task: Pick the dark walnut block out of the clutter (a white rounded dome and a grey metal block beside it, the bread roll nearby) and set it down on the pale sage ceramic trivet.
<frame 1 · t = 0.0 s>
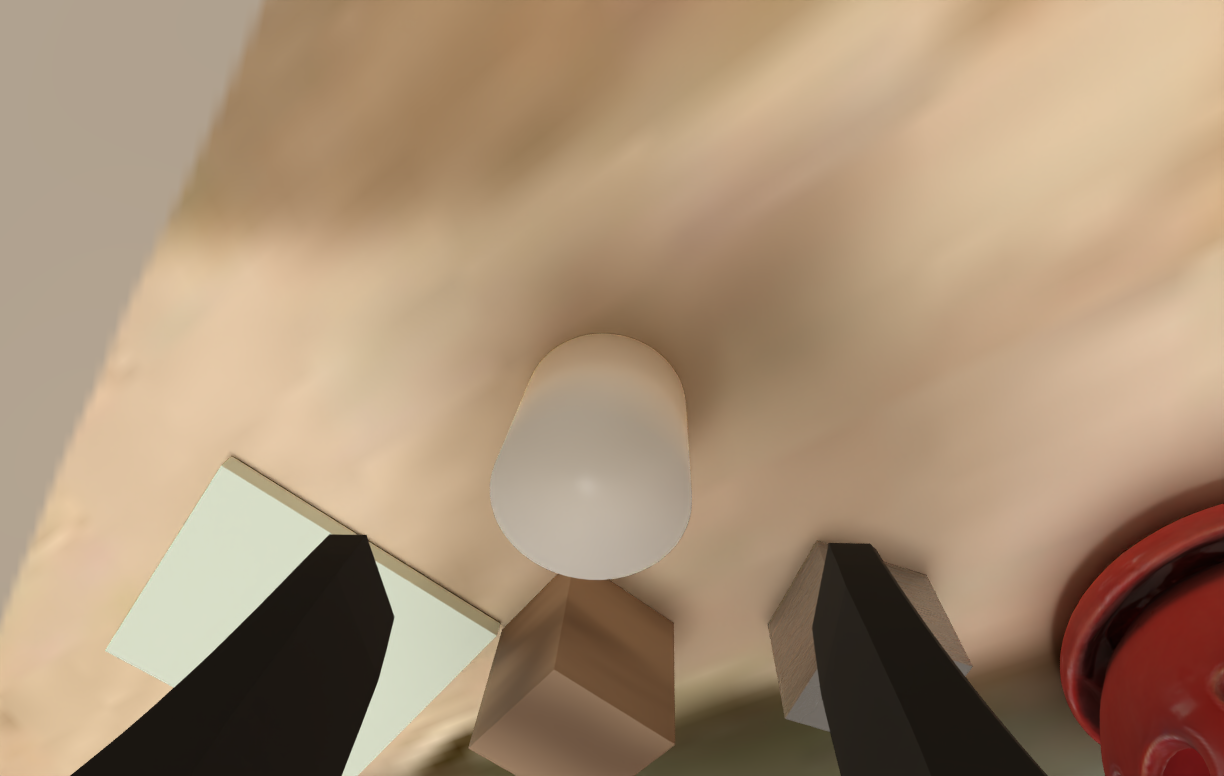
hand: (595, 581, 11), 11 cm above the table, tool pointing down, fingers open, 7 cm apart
trivet: (301, 631, 27), on the table
grey metal block: (844, 599, 24), on the table
plant pot: (1206, 613, 24), on the table
walnut block: (586, 625, 26), on the table
white rounded dome: (605, 408, 22), on the table
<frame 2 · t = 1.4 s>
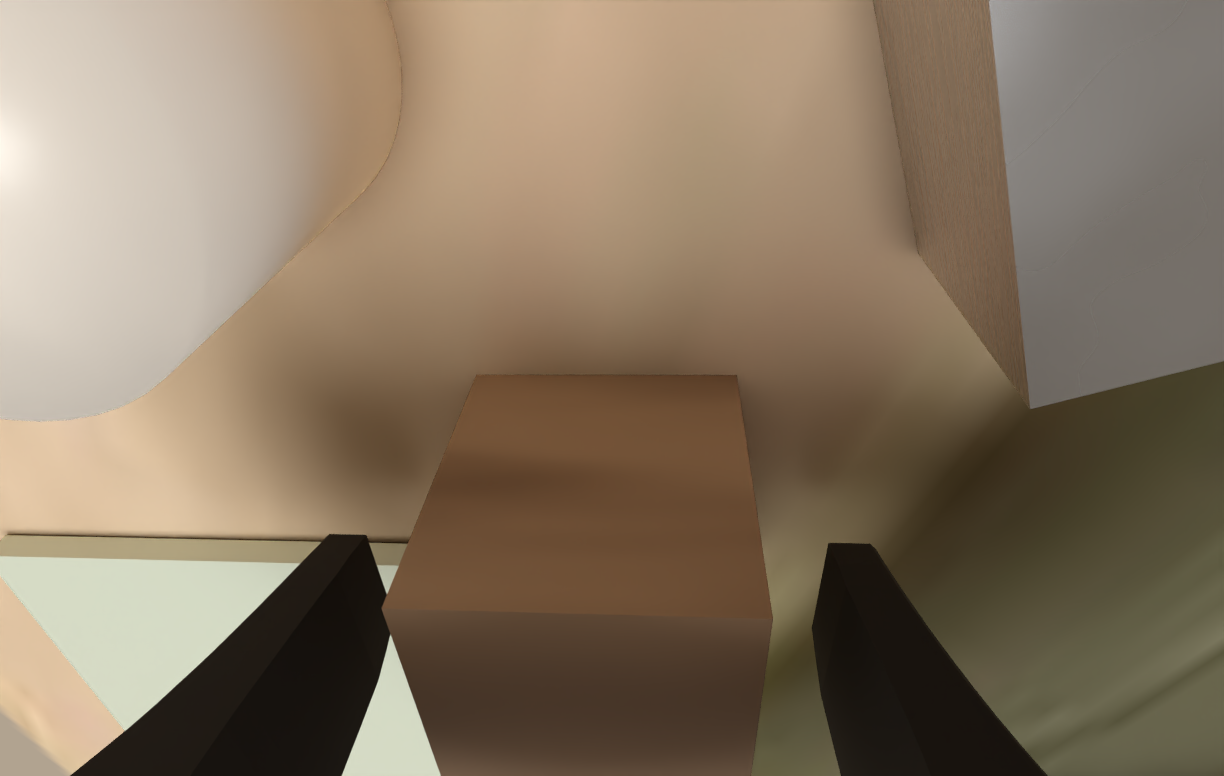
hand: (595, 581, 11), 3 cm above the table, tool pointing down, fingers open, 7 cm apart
trivet: (315, 688, 18), on the table
grey metal block: (1054, 63, 9), on the table
walnut block: (610, 471, 13), on the table
white rounded dome: (218, 50, 9), on the table
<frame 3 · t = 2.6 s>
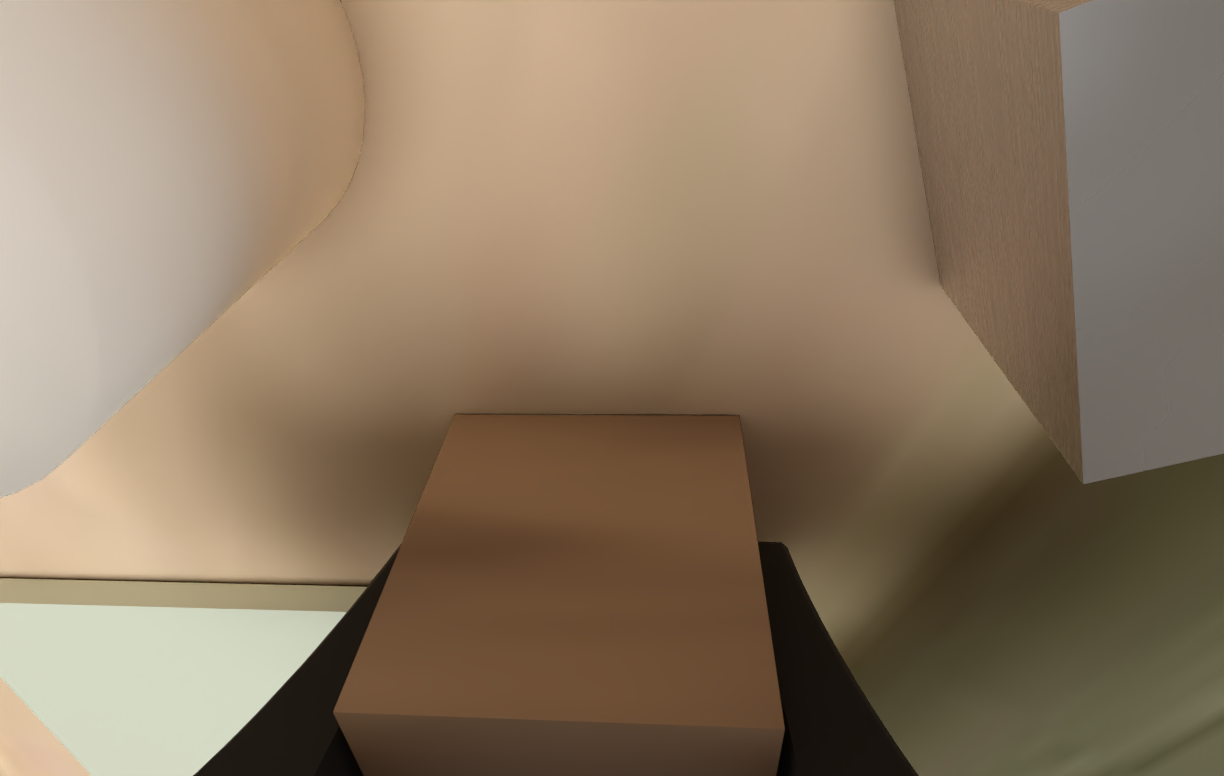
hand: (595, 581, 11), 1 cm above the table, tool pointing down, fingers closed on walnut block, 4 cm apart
trivet: (292, 731, 17), on the table
grey metal block: (1098, 77, 8), on the table
walnut block: (601, 517, 12), on the table, touching gripper
white rounded dome: (157, 62, 8), on the table
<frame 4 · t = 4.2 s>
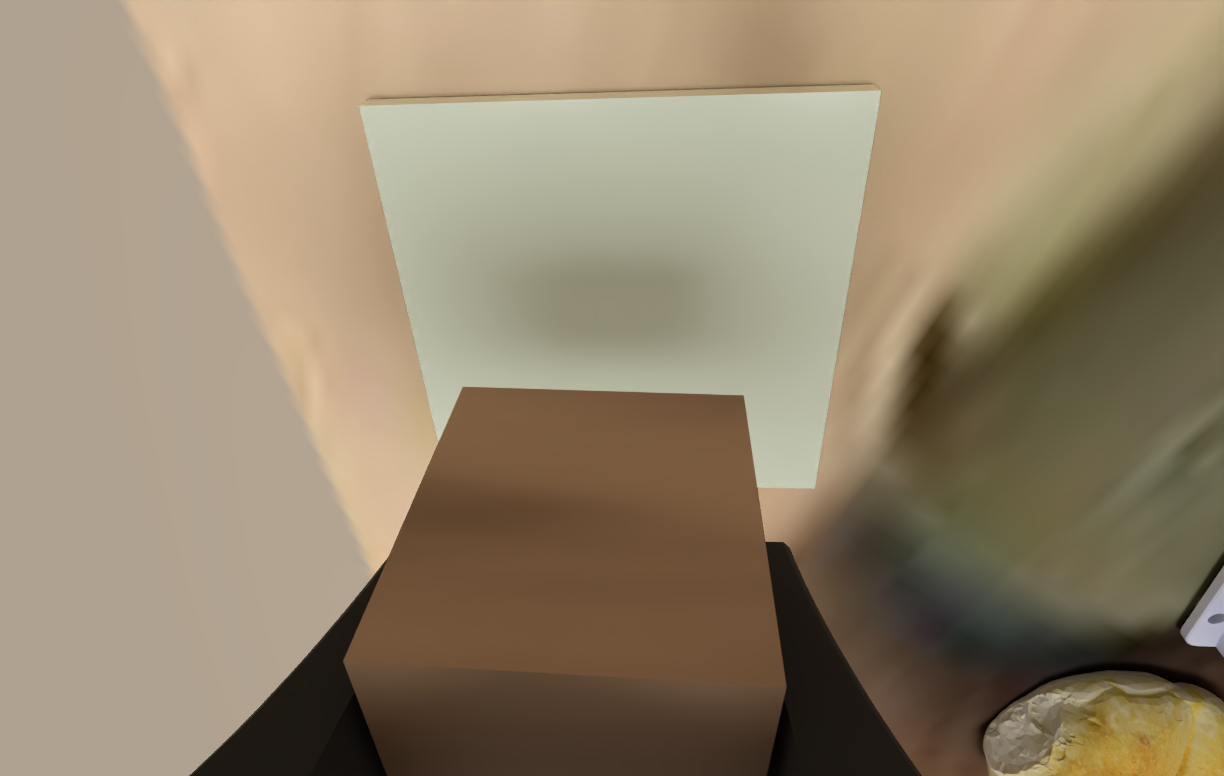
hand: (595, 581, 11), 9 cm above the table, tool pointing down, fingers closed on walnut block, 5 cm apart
trivet: (622, 315, 18), on the table
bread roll: (1091, 719, 28), on the table
walnut block: (604, 494, 12), point 7 cm above the table, touching gripper
when the fingers open (3 cm above the table, at t = 6.0 s): walnut block drops 1 cm, resting on trivet.
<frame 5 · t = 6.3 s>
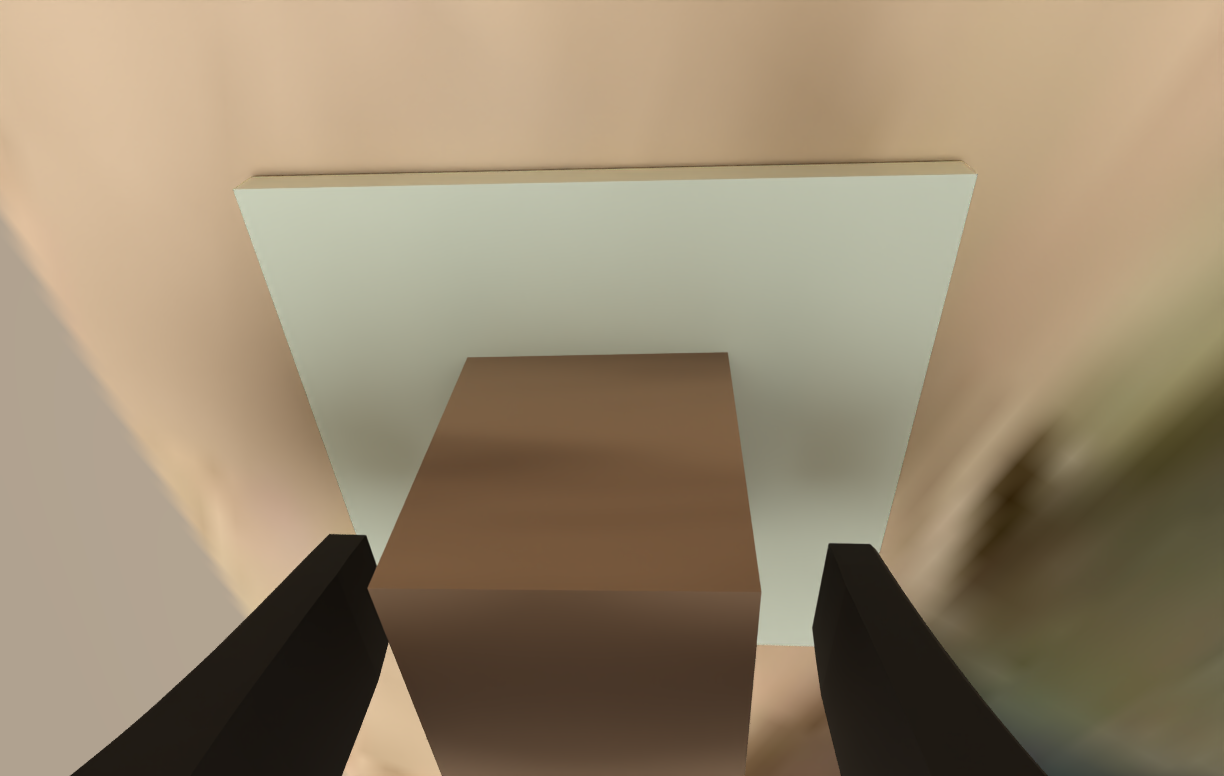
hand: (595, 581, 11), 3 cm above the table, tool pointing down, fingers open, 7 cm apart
trivet: (609, 445, 14), on the table
walnut block: (604, 455, 13), point 1 cm above the table, touching trivet
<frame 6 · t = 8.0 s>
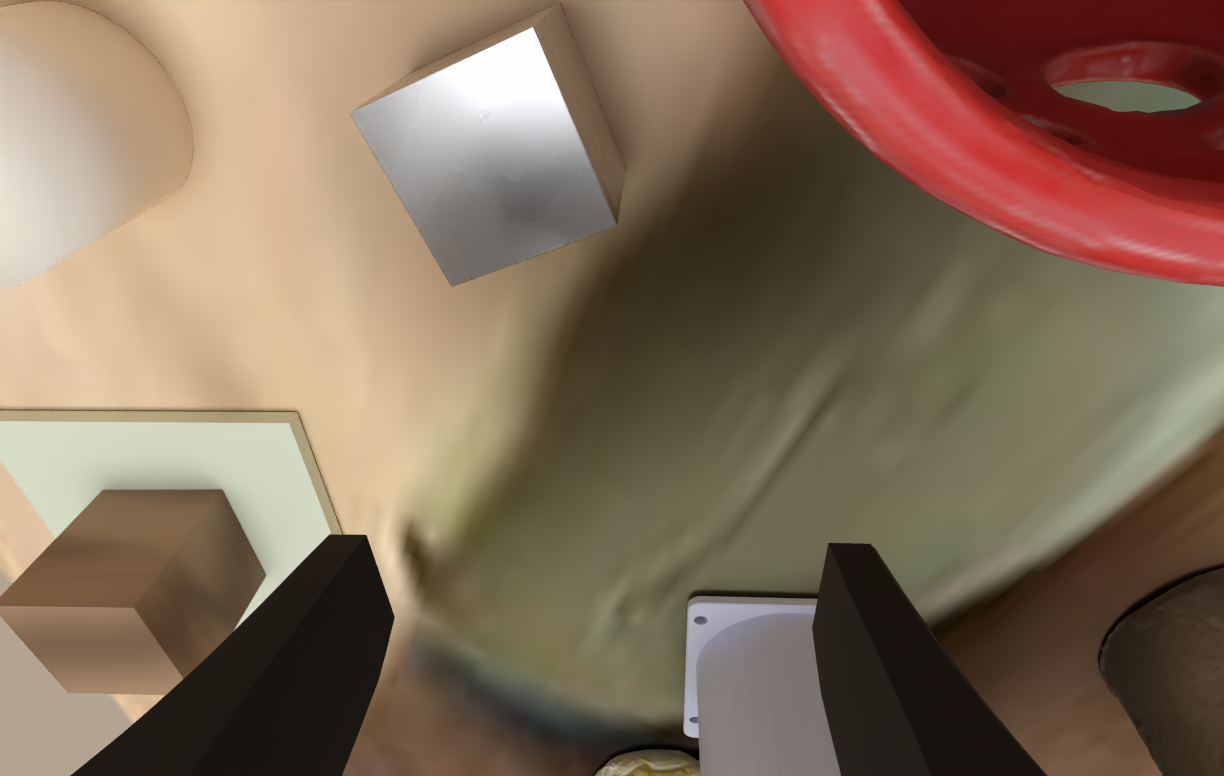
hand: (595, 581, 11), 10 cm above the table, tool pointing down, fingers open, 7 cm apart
trivet: (200, 527, 26), on the table
grey metal block: (521, 120, 17), on the table
walnut block: (188, 534, 26), point 1 cm above the table, touching trivet
white rounded dome: (93, 111, 18), on the table
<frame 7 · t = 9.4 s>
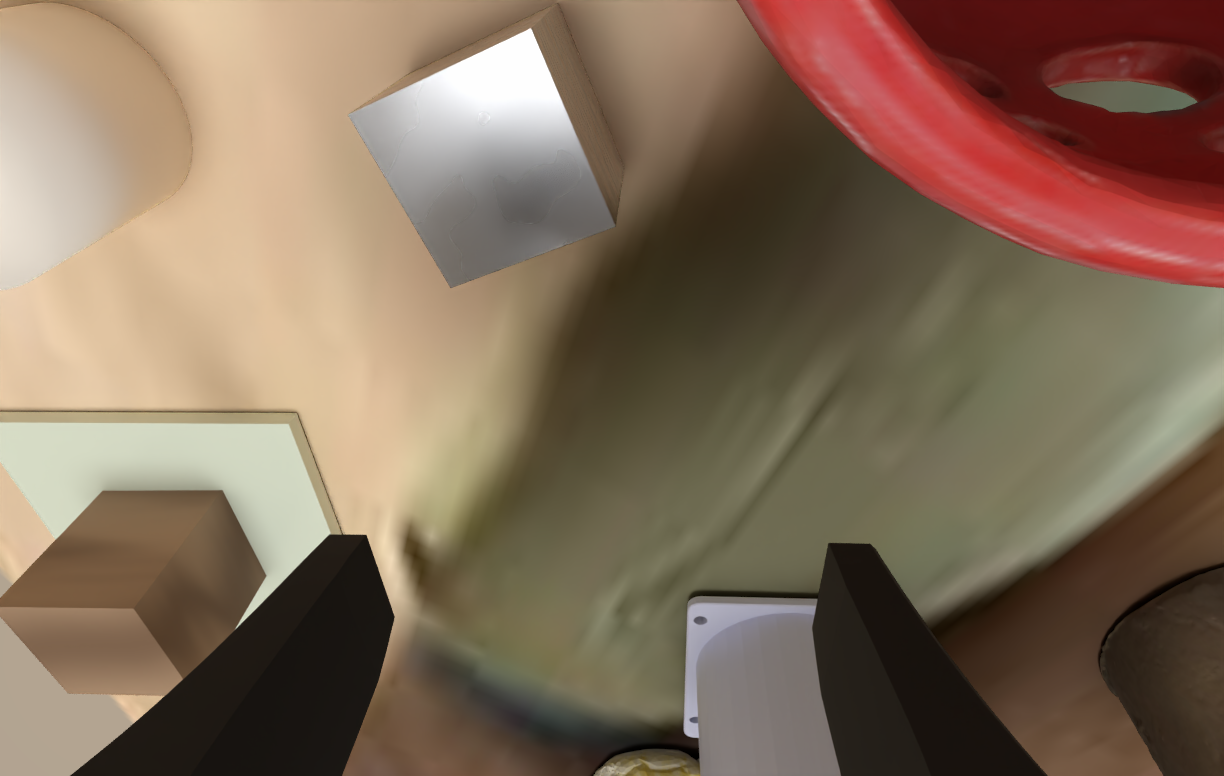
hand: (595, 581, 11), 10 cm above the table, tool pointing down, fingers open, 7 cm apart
trivet: (200, 527, 27), on the table
grey metal block: (520, 121, 17), on the table
walnut block: (188, 535, 26), point 1 cm above the table, touching trivet
white rounded dome: (92, 113, 18), on the table
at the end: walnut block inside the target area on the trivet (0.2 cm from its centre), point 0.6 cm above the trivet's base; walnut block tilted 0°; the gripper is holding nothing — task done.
